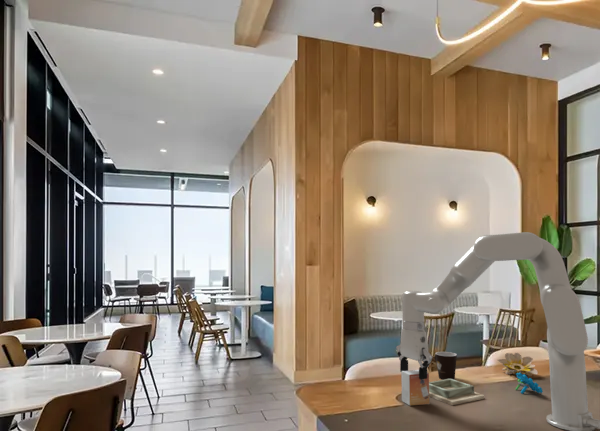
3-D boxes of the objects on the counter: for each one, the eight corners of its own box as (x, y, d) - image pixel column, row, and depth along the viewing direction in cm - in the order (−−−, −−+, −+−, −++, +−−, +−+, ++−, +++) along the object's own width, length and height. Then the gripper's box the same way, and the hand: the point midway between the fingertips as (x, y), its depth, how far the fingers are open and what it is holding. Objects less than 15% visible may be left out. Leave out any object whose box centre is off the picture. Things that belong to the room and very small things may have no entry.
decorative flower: (499, 373, 184) (499, 348, 187) (496, 373, 194) (496, 350, 197) (538, 378, 179) (538, 353, 182) (533, 378, 189) (532, 354, 192)
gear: (549, 392, 157) (528, 372, 159) (540, 405, 156) (518, 385, 157) (531, 388, 168) (511, 369, 169) (522, 399, 167) (502, 380, 168)
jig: (484, 398, 156) (483, 387, 156) (451, 405, 149) (451, 394, 149) (446, 385, 172) (446, 376, 172) (415, 391, 165) (415, 381, 165)
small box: (409, 406, 148) (408, 374, 149) (401, 401, 153) (400, 370, 154) (430, 404, 150) (429, 373, 151) (421, 399, 155) (420, 369, 156)
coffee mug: (459, 381, 177) (458, 356, 178) (437, 380, 179) (437, 355, 180) (454, 374, 189) (453, 350, 190) (433, 373, 190) (432, 350, 191)
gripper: (439, 329, 148) (439, 380, 147) (405, 321, 164) (405, 368, 162) (422, 330, 145) (422, 383, 143) (389, 322, 160) (389, 370, 159)
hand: (413, 375), depth 153 cm, fingers open, 9 cm apart
